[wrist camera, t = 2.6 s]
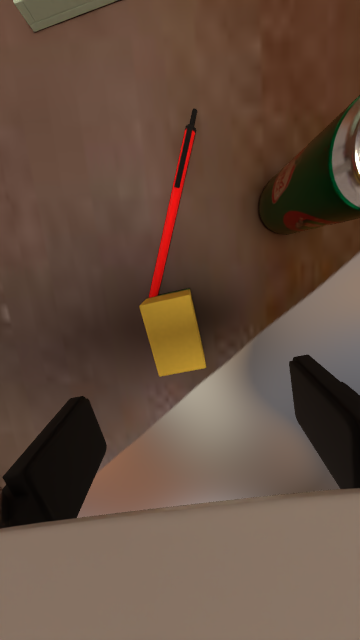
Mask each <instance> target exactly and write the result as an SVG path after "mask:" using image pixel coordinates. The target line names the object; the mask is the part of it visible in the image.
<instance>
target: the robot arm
mask: <svg viewBox="0 0 360 640" xmlns="http://www.w3.org/2000/svg"><path fill="white" fill-rule="evenodd" d="M289 366H290V374H291V383H292V391H293V400H294V409H295V415H296V418H297V421H298V423H299V424H300V426H301V427H302V429H303V431H304V432H305V434H306V435H307V437H308V438H309V440H310V442H311V443H312V445H313V446H314V448H315V450H316V451H317V453H318V454H319V456H320V457H321V459H322V461H323V462H324V464H325V465H326V467H327V468H328V470H329V472H330V473H331V475H332V476H333V478H334V479H335V481H336V483H337V484H338V486H339V487H340V489H336V490H325V491H313V492H302V493H292V494H281V495H272V496H263V497H253V498H244V499H235V500H226V501H218V502H209V503H199V504H191V505H183V506H173V507H165V508H157V509H148V510H140V511H131V512H122V513H115V514H106V515H99V516H90V517H82V518H77V516H78V513H79V511H80V509H81V506H82V504H83V502H84V500H85V497H86V495H87V493H88V491H89V488H90V486H91V484H92V482H93V479H94V477H95V475H96V473H97V470H98V468H99V466H100V464H101V461H102V459H103V457H104V455H105V452H106V442H105V439H104V437H103V434H102V432H101V429H100V427H99V424H98V422H97V419H96V417H95V414H94V412H93V409H92V407H91V404H90V401H89V400H88V399H86V398H85V397H84V396H80V397H75V398H70V399H69V400H68V401H67V403H66V404H65V405H64V406H63V407H62V408H61V410H60V411H59V412H58V413H57V414H56V415H55V417H54V418H53V419H52V420H51V421H50V422H49V424H48V425H47V426H46V427H45V428H44V429H43V431H42V432H41V433H40V434H39V435H38V436H37V438H36V439H35V440H34V441H33V442H32V443H31V445H30V446H29V447H28V448H27V449H26V450H25V452H24V453H23V454H22V455H21V456H20V457H19V459H18V460H17V461H16V462H15V463H14V464H13V466H12V467H11V468H10V469H9V470H8V471H7V473H6V474H5V475H4V476H3V479H4V481H5V482H6V486H5V487H4V488H3V489H2V488H1V487H0V640H360V395H358V394H357V393H356V392H355V391H354V390H352V389H351V388H350V387H349V386H348V385H346V384H345V383H343V382H340V381H339V380H338V379H336V378H335V377H334V376H333V375H332V374H331V373H329V372H328V371H327V370H326V369H325V368H323V367H322V366H321V365H320V364H319V363H317V362H316V361H315V360H314V359H313V358H312V357H310V356H309V355H303V356H298V357H294V358H293V361H290V362H289Z"/></svg>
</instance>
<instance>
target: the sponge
mask: <svg viewBox="0 0 360 640" xmlns="http://www.w3.org/2000/svg"><path fill="white" fill-rule="evenodd" d="M139 307H140V311H141V314H142V318H143V321H144V325H145V328H146V332H147V335H148V339H149V342H150V346H151V349H152V353H153V356H154V360H155V363H156V367H157V370H158V374H159V376H166V375H171V374H176V373H181V372H187V371H192V370H197V369H203V368H206V363H205V357H204V351H203V346H202V341H201V337H200V332H199V328H198V323H197V319H196V314H195V309H194V305H193V300H192V296H191V291H190V288H188V289H183V290H179V291H174V292H170V293H165V294H161V295H158V296H155V297H151V298H149V297H148V298H147V299H146V300H145V301H144V302H143V303H142V304H141V305H140V306H139Z"/></svg>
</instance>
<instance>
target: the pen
mask: <svg viewBox="0 0 360 640" xmlns="http://www.w3.org/2000/svg"><path fill="white" fill-rule="evenodd" d="M196 114H197V110H196V109H193V111H192V115H191V119H190V124H188V125H187V126H186V128H185V133H184V137H183V142H182V146H181V151H180V156H179V160H178V165H177V169H176V174H175V178H174V183H173V188H172V192H171V197H170V201H169V206H168V211H167V215H166V220H165V224H164V229H163V234H162V238H161V243H160V247H159V252H158V256H157V261H156V266H155V270H154V275H153V279H152V284H151V289H150V293H149V298H151V297H155V296H158V293H159V289H160V285H161V280H162V276H163V272H164V267H165V263H166V259H167V254H168V250H169V246H170V241H171V237H172V233H173V228H174V224H175V219H176V215H177V211H178V206H179V202H180V198H181V193H182V189H183V185H184V180H185V176H186V172H187V167H188V163H189V159H190V154H191V150H192V145H193V141H194V137H195V132H196V128H195V127H194V123H195V119H196Z"/></svg>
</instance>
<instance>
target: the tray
mask: <svg viewBox="0 0 360 640" xmlns="http://www.w3.org/2000/svg"><path fill="white" fill-rule="evenodd" d="M115 1H118V0H13V2H14V4H15V5H16V7H17V8H18V10H19V11H20V13H21V14H22V16H23V17H24V18H25V20H26V21H27V23H28V24H29V25H30V27H31V28H32V30H33V31H34V32H36V31H38V30H41V29H44V28H46V27H49V26H52V25H54V24H57V23H60V22H62V21H65V20H67V19H70V18H73V17H75V16H78V15H81V14H83V13H86V12H89V11H91V10H94V9H97V8H99V7H102V6H104V5H107V4H110V3H112V2H115Z"/></svg>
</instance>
